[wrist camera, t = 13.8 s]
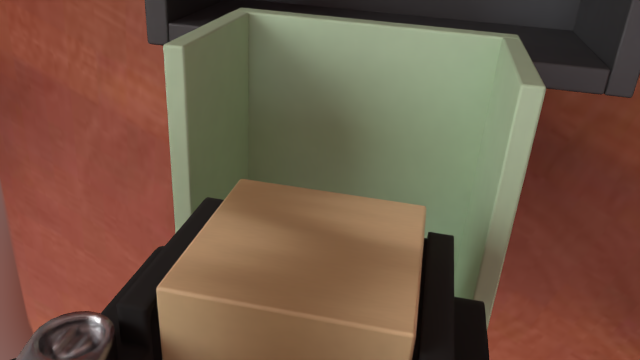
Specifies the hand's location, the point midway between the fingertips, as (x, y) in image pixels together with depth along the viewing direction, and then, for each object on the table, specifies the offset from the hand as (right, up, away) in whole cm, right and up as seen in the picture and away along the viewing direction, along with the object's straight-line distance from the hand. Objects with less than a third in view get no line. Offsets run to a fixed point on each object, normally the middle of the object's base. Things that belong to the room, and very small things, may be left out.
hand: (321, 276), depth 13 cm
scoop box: (+1, 0, +7) cm, 7 cm away
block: (0, 0, 0) cm, 0 cm away
